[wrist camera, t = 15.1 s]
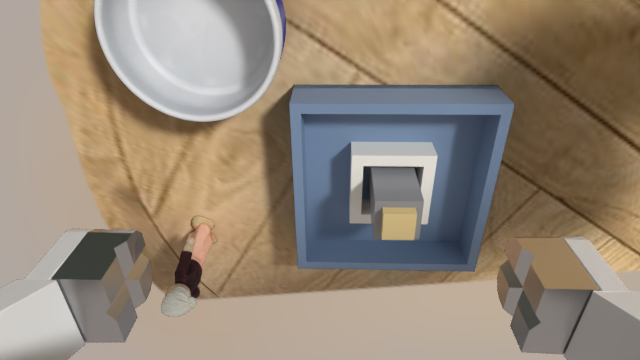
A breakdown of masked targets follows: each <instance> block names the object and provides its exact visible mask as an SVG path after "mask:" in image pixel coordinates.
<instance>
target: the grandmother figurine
mask: <svg viewBox="0 0 640 360" xmlns="http://www.w3.org/2000/svg"><path fill="white" fill-rule="evenodd" d="M192 226H193V228H194V229H196V231H195V232H192V233H190V234H189V235H188V238H187V240H186V245H185V246H184V249H183V251H182V253H181V255H180V261H179V264H178V266H177V269H176V271H175V284H174V285H172V286H170V287H169V288H168V290H167V291H166V294H165V297H164V298H163V301H162V304H161V311H162V313H163V314H164V315H166V316H171V317H178V316H181V315H184V314H186V313H187V312H189V311H190V310H191V309H192V308H194V307H195V306H196V299H195V298H197V297H198V296H199V294H200V291H201V290H202V285H201V284H200V283H199V282H200V280H201V275H202V266H203V263H204V261H205V258H206V256H207V254H208V251H209V249H210V247H211V245H212V244H214V243H216V242H217V236H216V235H215V234H213V233H210V230H212V229H213V228H214V222H213V221H212V220H210V219H207V218H204V217H201V216H195V217H193V219H192Z"/></svg>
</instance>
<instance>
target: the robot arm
mask: <svg viewBox="0 0 640 360" xmlns="http://www.w3.org/2000/svg"><path fill="white" fill-rule="evenodd" d="M144 247H145V242H144V239H143V236H142V233H140V232H138V231H131V230H104V229H94V230H92V229H71V230H68V231H66V232H65V233H64V234H63V235H62V236H61V237H60V239H59V240H58V241H57V242H56V243H55V244H54V245H53V247H52V248H51V249H50V250H49V251H48V253H46V255H45V256H44V257H43V258H42V259H41V260H40V261H39V263H38V264H37V265H36V266H35V267H34V268H33V270H32V271H31V272H30V273H29V274H28V275H27V276H26V278H25V279H17V280H15V281H13V282H11V283H9V284H7V285H5V286H3V287H1V288H0V360H68V359H69V358H70V357H71V356H72V355H74V354H75V353H76V352H77V351H78V350H80V349H81V348H82V347H83V346H84V345H85V342H125V341H126V339H127V337H128V335H129V333H130V331H131V329H132V327H133V325H134V323H135V321H136V319H137V315H136V311H135V308H136V307H138V306H139V305H141V304H142V303H144V302H145V301H146V299H147V297H148V295H149V292H150V290H151V284H152V279H153V275H152V266H151V263H150V260H149V259H148V258H147V257H146V256H145V255H143V254H142V253H141V252H142V250H143V249H144ZM504 251H505V253H506V256H507V258H508V260H507V261H506V262H505V263H504V264H502V265H501V266H500V268H499V273H498V277H497V290H498V295H499V299H500V302H501V305H502V307H503V309H504V310H505V311H507V312H508V313H509V314H510V315H512V316H513V318H512V322H511V325H510V326H511V329H512V331H513V333H514V336H515V338H516V340H517V343H518V345H519V347H520V350H521V352H527V353H546V354H564V357H565V358H566V359H567V360H640V293H638V292H631V291H628V290H627V288H626V287H625V286H624V285H623V283H622V282H621V280H620V279H619V278H618V277H617V275H616V274H615V273H614V271H613V270H612V269H611V268H610V266H609V265H608V264H607V262H606V261H605V260H604V259H603V257H602V256H601V255H600V253H599V252H598V251H597V250H596V248H595V247H594V246H593V244H592V243H591V242H590V241H589V240H588V239H587V238H585V237H583V236H566V237H510V239H509V240H508V241H507V244H506V247H505V250H504Z"/></svg>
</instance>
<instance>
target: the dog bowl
mask: <svg viewBox="0 0 640 360" xmlns="http://www.w3.org/2000/svg"><path fill="white" fill-rule="evenodd" d="M94 20H95V27H96V33H97V36H98V40H99V43H100V46H101V48H102V51H103V53H104V55H105V57H106V59H107V61H108V63H109V64H110V66H111V68H112V69H113V70H114V72H115V73H116V75H117V76H118V77H119V79H120V80H121V81H122V82H123V83H124V85H125V86H126V87H127V88H128V89H129V90H130V91H131V92H132V93H134V94H135V95H136V96H137V97H138V98H140V99H141V100H142V101H144V102H145V103H146V104H148V105H149V106H151V107H153V108H154V109H156V110H158V111H160V112H162V113H164V114H167V115H169V116H172V117H175V118H179V119H183V120H188V121H195V122H212V121H219V120H223V119H227V118H230V117H233V116H235V115H237V114H239V113H241V112H243V111H245V110H246V109H248V108H249V107H251V106H252V105H253V104H254V103H255V102H257V101H258V100H259V99H260V98H261V97H262V95H263V94H264V93H265V92H266V90H267V89H268V87H269V86H270V84H271V82H272V80H273V78H274V76H275V73H276V71H277V68H278V65H279V62H280V59H281V55H282V51H283V47H284V42H285V35H286V18H285V11H284V6H283V2H282V0H94Z"/></svg>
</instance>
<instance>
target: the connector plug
mask: <svg viewBox="0 0 640 360" xmlns="http://www.w3.org/2000/svg"><path fill="white" fill-rule="evenodd" d="M368 195H369V204H370V214H371V223H372V232H373V239H382V240H414V239H419V237H420V229H421V221H422V213H423V206H424V199H423V196H422V193H421V189H420V186H419V183H418V179H417V176H416V172H415V169H414V167H409V166H370V167H369V189H368Z"/></svg>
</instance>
